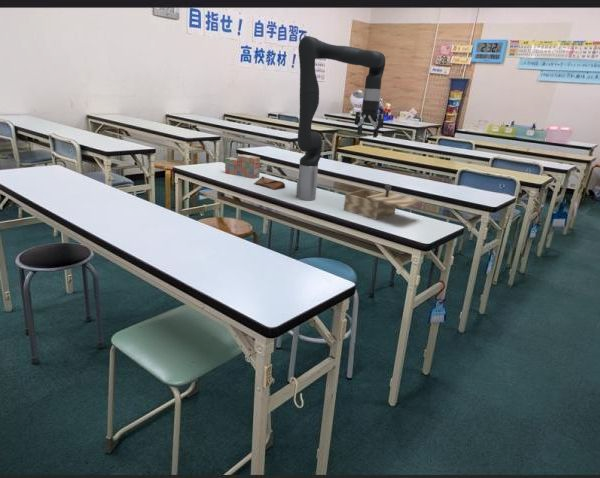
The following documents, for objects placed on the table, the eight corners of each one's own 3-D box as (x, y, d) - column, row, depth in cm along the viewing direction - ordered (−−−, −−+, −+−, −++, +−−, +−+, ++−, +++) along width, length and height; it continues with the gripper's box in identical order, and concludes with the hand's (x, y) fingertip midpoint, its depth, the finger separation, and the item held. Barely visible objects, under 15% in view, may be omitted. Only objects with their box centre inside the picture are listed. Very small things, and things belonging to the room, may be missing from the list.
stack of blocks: (224, 173, 267) (224, 153, 263) (231, 172, 273) (231, 152, 268) (253, 179, 258) (254, 158, 254) (259, 177, 263) (260, 156, 259)
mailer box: (343, 210, 208) (345, 193, 205) (363, 204, 219) (365, 189, 216) (375, 219, 196) (377, 202, 193) (394, 213, 207) (396, 197, 205)
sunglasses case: (251, 183, 246) (256, 172, 246) (258, 188, 252) (263, 177, 252) (274, 190, 235) (279, 178, 236) (282, 195, 241) (286, 184, 242)
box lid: (366, 198, 197) (368, 184, 195) (386, 193, 208) (388, 179, 206) (402, 208, 185) (405, 193, 183) (421, 202, 197) (424, 188, 194)
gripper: (353, 98, 199) (350, 134, 205) (380, 100, 190) (375, 138, 196) (363, 98, 204) (359, 133, 210) (389, 100, 195) (384, 137, 201)
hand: (367, 136), depth 203 cm, fingers open, 8 cm apart
